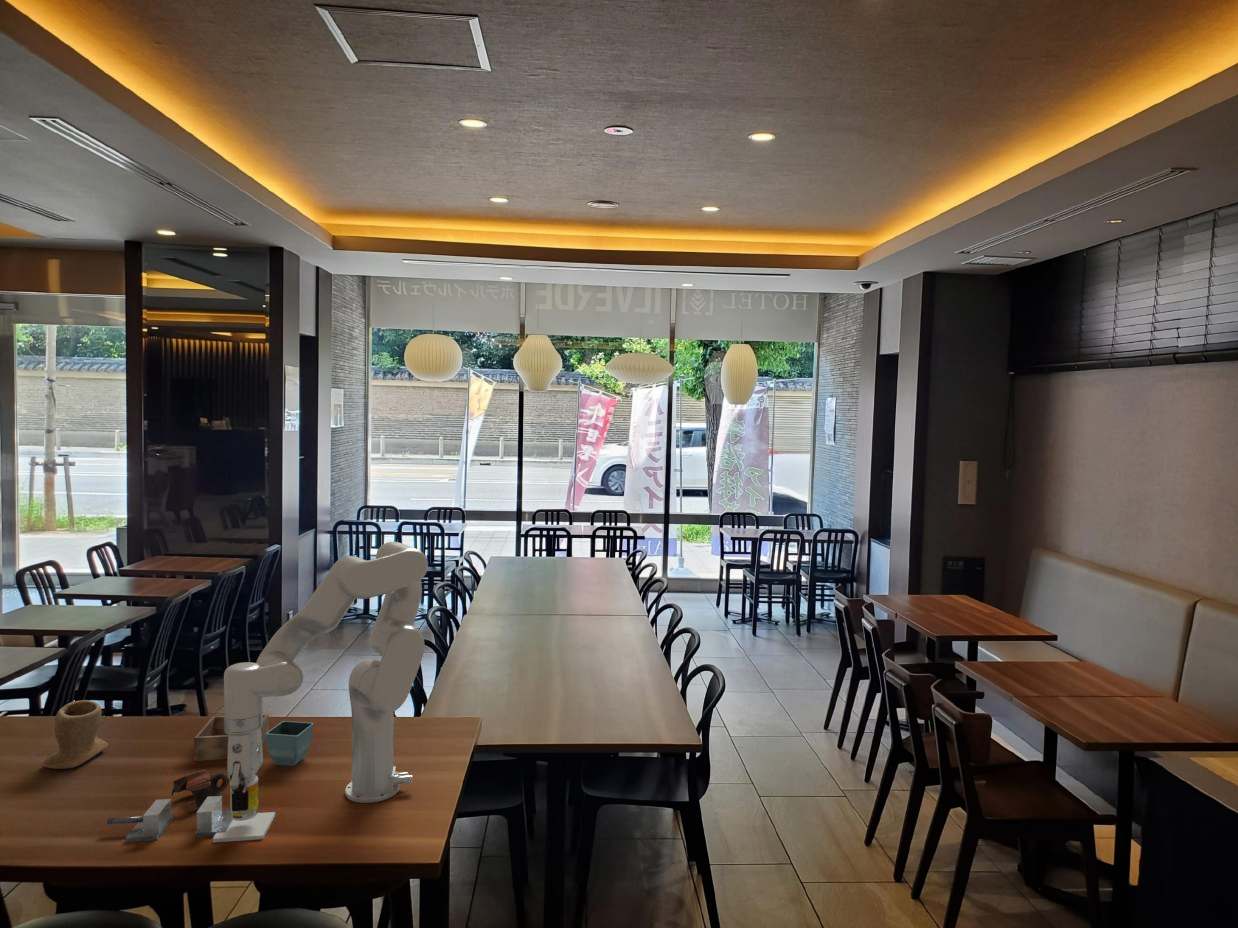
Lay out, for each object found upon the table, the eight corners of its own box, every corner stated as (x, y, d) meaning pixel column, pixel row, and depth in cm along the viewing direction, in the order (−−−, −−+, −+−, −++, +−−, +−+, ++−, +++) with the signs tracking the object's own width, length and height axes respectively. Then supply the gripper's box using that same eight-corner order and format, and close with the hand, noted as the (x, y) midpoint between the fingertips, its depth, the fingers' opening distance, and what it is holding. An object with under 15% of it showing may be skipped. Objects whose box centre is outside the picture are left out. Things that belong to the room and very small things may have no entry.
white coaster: (275, 815, 180) (275, 811, 180) (263, 838, 171) (263, 835, 170) (227, 818, 179) (227, 814, 179) (212, 842, 169) (212, 838, 169)
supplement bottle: (262, 815, 175) (262, 769, 174) (236, 824, 170) (236, 777, 170) (252, 806, 178) (251, 761, 178) (226, 815, 174) (225, 769, 174)
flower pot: (314, 755, 211) (314, 722, 211) (298, 770, 203) (297, 735, 202) (282, 753, 212) (282, 720, 212) (265, 768, 203) (264, 733, 203)
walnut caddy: (269, 734, 224) (268, 713, 223) (254, 757, 209) (254, 734, 209) (213, 737, 221) (212, 716, 221) (194, 760, 207) (193, 737, 207)
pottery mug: (173, 819, 179) (164, 782, 181) (182, 818, 187) (173, 783, 189) (231, 796, 184) (222, 760, 186) (237, 796, 192) (228, 762, 194)
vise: (238, 814, 180) (237, 792, 180) (225, 835, 172) (225, 812, 171) (117, 821, 176) (117, 799, 176) (98, 843, 167) (98, 820, 167)
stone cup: (79, 774, 198) (78, 714, 197) (34, 771, 199) (32, 712, 198) (122, 748, 213) (121, 693, 212) (80, 745, 214) (78, 691, 213)
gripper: (250, 736, 165) (251, 821, 166) (272, 706, 182) (273, 783, 183) (211, 738, 164) (212, 824, 165) (237, 707, 181) (237, 785, 182)
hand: (244, 801), depth 174 cm, fingers closed on supplement bottle, 5 cm apart
